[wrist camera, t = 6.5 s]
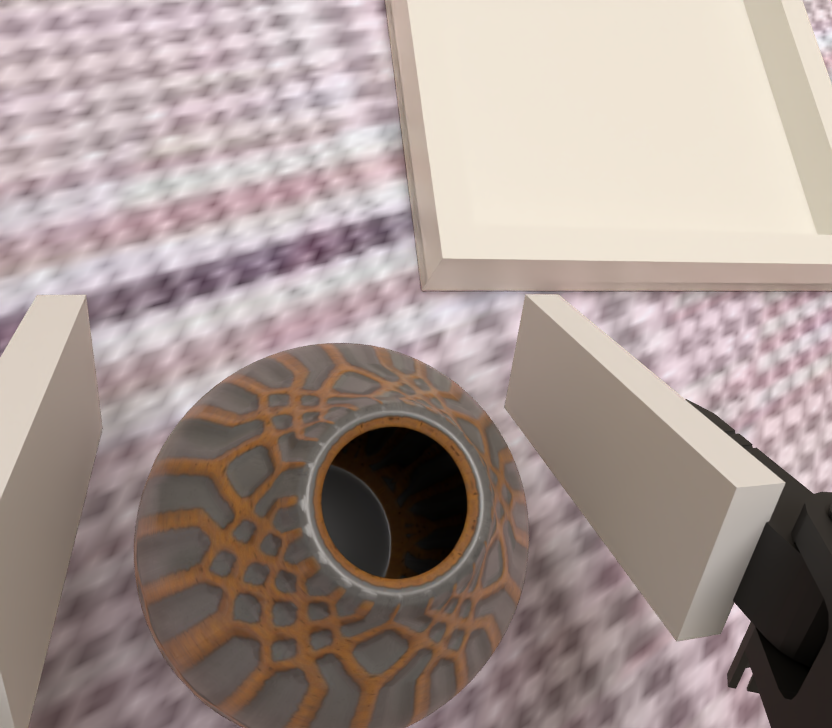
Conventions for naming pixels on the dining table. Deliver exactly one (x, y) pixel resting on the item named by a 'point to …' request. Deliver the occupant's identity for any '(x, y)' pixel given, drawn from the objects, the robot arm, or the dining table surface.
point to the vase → (331, 541)
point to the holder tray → (615, 144)
